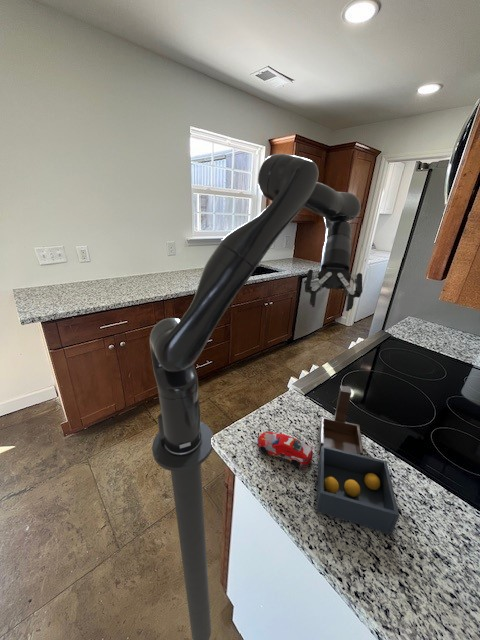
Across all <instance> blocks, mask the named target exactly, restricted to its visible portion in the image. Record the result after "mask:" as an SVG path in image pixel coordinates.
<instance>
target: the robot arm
mask: <svg viewBox="0 0 480 640" xmlns="http://www.w3.org/2000/svg"><path fill="white" fill-rule="evenodd" d="M319 174H320V173H319V166H318V165H317V164H316V163H315V162H314V161H313V160H311V159H308V158H307V157H302V156H297V155H292V154H287V153H274V154H272V155H270V156H267V158H265V160H264V161H263V162H262V164H261V166H260V168H259V172H258V175H257V185H258V189H259V191H260V193H261V194H262V196H263V197H265V199H267V200H269V201H270V203H269V204H268V206H267V207H266V208H265V209H264V210H263V211H262V212H261V213H260V214H258V215H257V216H256V217H254V218H253V219H251V220H249V221H247V222H246V223H244V224H242V225H241V226H238V227H237V228H235V229H234V230H232V231H231V232H230V233H228V234H227V235H226V236H224V237H223V239H221V241H220V242H219V244H218V245H217V247H215V249H214V251H213V252H212V254H211V255H210V257H209V258H208V260H207V261H206V263H205V265H204V267H203V269H202V272H201V275H200V278H199V281H198V285H197V288H196V290H195V291H196V292H195V294H194V297H193V299H192V302H191V303H190V304H189V305H190V306H189V307H188V308H187V310H186V311H185V312H184V314H183V316H182V317H181V318H180V319H179V318H176V317H168V318H164V319H162V320H159V322H157V323H156V324H155V325H154V326H153V327H152V329H151V331H150V334H149V349H150V356H151V362H152V363H151V364H152V368H153V369H152V370H153V375H154V380H155V382H156V387H157V394H158V402H159V410H160V413H159V414H158V415H157V423H158V432H159V433H160V437H161V445H162V446H163V447H165V449H166V451H167V452H168V453H169V454H171V455H174V456H187V455H189V454H191V453H193V452H195V451H196V450H197V449H198V448H199V446H200V444H201V442H202V435H201V423H200V421H201V408H200V406H201V405H200V389H199V377H198V373H197V369H196V367H195V362H196V361H197V360H198V359H199V358H200V356H201V354H202V353H203V351H204V348H205V347H206V346H207V343H208V342H209V340H210V338H211V336H212V334H213V332H215V329H216V327H217V326H218V324H219V322H220V321H221V319H222V318H223V317H224V315H225V313H226V312H227V310H228V309H229V308H230V306H231V305H232V303H233V301H234V300H235V298H237V296H238V294H239V293H240V291H242V289H243V288H244V286H245V285H246V284H247V282H248V281H249V279H250V278H251V277H252V275H253V273H255V271H256V269H257V267H258V266H259V265H260V263H261V261H262V260H263V258H264V257H265V256H266V255H267V253H268V251H269V250H270V249H271V248H272V247H273V245H274V243H275V242H276V240H277V239H278V238H279V237H280V235H281V234H282V233H283V231H285V229H286V228H287V227H288V226H289V225H290V223H291V222H292V221H293V220H294V219H295V218H296V216H298V214H299V213H300V211H302V209H303V208H304V209H306V210H308V211H310V212H311V213H314V214H316V215H318V216H320V217H322V218H323V221H324V227H325V236H324V244H323V247H322V251H321V252H322V253H321V262H320V268H319V270H318V271H314V270H313V269H311V268H310V269H308V270H307V275H306V280H305V284H304V293H308V294H310V297H309V305H310V306H311V308H315V306H316V300H317V293H319V292H320V291H322V290H323V289H326V290H336V291H338V290H341V292H342V293H343V294H345V296H346V297H347V298H346V305H345V311H346V312H350V310H352V308H353V307H354V300H355V298H360V297H361V295H362V294H363V274H362V273H361V272H358V273H357V274H351V272H350V268H351V267H350V266H351V258H352V257H351V256H352V234H353V233H352V232H353V230H352V225H351V223H350V221H352V220H354V219H356V218H357V217H358V216H359V215H360V213H361V208H362V207H361V206H362V205H361V201H360V199H359V198H358V196H356V195H355V194H353V193H351V192H347V191H337V190H335V189H334V188H332V187H331V186H329V185H327V184H324V183H322V182H319ZM316 278H317V279H318V281H316V283H315V285H313V286H311V284H312V281H314V280H315V279H316ZM350 281H352V283H353V284H355V287H354V289H353V288H352V287H351V284H350V283H349V282H350Z"/></svg>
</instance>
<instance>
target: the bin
mask: <svg viewBox="0 0 480 640" xmlns="http://www.w3.org/2000/svg"><path fill="white" fill-rule="evenodd" d="M368 473H373V474H375V475H376V476H378V478H379V479H380V487H379V488H378V489H377V490H372V489H370V488H368V487H367V486H366V484H365V481H364V478H365V476H366V475H367V474H368ZM327 477H333V478H335V479H336V480H337V482H338V484H339V489H338V491H337V492H336V493H335V494H333V493H329V492H327V491H326V490H325V488H324V480H325V478H327ZM350 479H351V480H354V481H356V482H357V483H358V484H359V486H360V494H359V495H358V496H356V497H351V496H349V495H348V494H347V493H346V491H345V489H344V484H345V482H346V481H347V480H350ZM316 512H317V513H320V514H323V515H325V516H326V515H327V516H330V517H333V518H336V519H339V520H343V521H345V522H350V523H353V524H355V525H359V526H362V527H366V528H369V529H372V530H375V531H379V532H381V533H385V534H389V535H393V533H394V530H395V528H396V525H397V523H398V520H399V517H400V512H399V509H398V504H397V500H396V495H395V492H394V487H393V483H392V479H391V474H390V470H389V466H388V461H386V460H383V459H379V458H375V457H371V456H367V455H364V454H363V455H359V454H355V453H350V452H346V451H342V450H338V449H334V448H330V447H326V446H321V451H320V456H319V455H318V463H317V489H316Z"/></svg>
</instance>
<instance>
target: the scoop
mask: <svg viewBox="0 0 480 640" xmlns="http://www.w3.org/2000/svg"><path fill="white" fill-rule="evenodd" d="M351 396H352V388H351V386H345V385H340V386H339V391H338V396H337V400H336V406H335V411H334V416H333V418H328V417H325V416H321V417H320V423H319V434H318V437H319V438H318V457H319V456H320V451H321V446H326V447H330V448H334V449H338V450H342V451H346V452H350V453H355V454H359V455H363V456H364V447H363V440H362V435H361V429H360V424H357V423H353V422H348V421H346V418H347V415H348V410H349V405H350V400H351Z"/></svg>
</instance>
